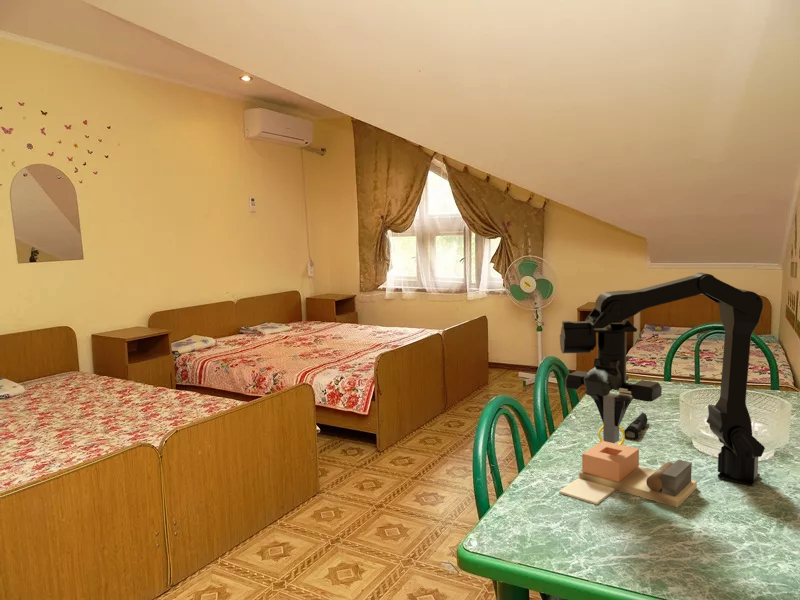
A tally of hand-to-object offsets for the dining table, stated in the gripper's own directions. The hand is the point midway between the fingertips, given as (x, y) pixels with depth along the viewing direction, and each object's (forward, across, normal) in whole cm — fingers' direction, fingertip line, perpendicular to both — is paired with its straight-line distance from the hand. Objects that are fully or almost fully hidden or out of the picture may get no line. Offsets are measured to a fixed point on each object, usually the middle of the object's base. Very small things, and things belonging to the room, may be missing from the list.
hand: (611, 424), depth 124 cm
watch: (+12, -8, +17) cm, 22 cm away
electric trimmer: (+12, -7, +31) cm, 34 cm away
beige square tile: (+12, 0, -10) cm, 15 cm away
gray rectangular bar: (+4, 0, 0) cm, 4 cm away
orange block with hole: (+10, 0, 0) cm, 10 cm away
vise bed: (+12, +6, 0) cm, 13 cm away
